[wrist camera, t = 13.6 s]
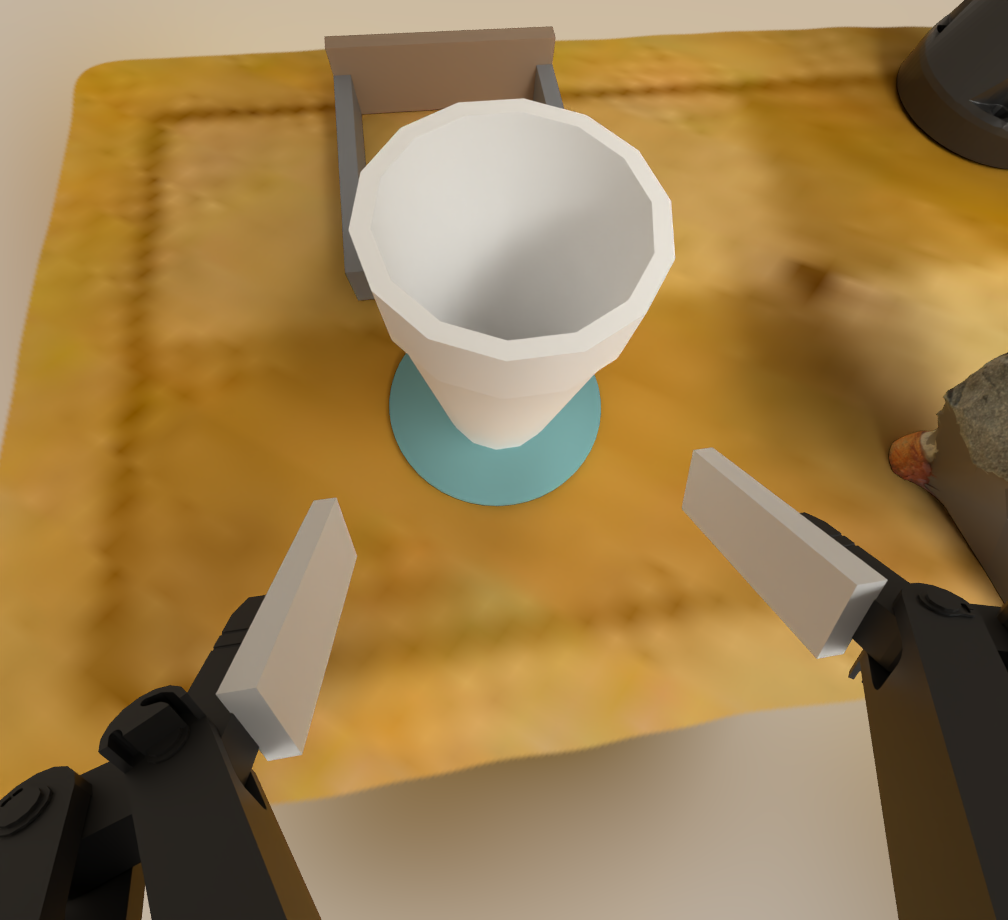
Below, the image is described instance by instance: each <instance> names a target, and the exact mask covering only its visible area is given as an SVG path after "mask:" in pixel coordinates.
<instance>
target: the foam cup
mask: <svg viewBox="0 0 1008 920" xmlns="http://www.w3.org/2000/svg"><path fill="white" fill-rule="evenodd" d="M348 230H349V233H350V236H351V238H352V241H353V244H354V246H355V249H356V252H357V254H358V257H359V259H360V262H361V265H362V267H363V270H364V273H365V275H366V278H367V281H368V283H369V286H370V289H371V291H372V294H373V296H374V299H375V301H376V303H377V306H378V308H379V311H380V313H381V315H382V318H383V320H384V323H385V325H386V328H387V330H388V332H389V335H390V337H391V340H392V341H393V342H394V343H396V344H397V345H398V346H399V347H400V348H401V349H402V350H404V351H405V352H406V353H407V354H408V355H409V356H410V358H411V360H412V361H413V363H414V364H415V366H416V367H417V369H418V370H419V372H420V373H421V375H422V376H423V378H424V380H425V381H426V383H427V384H428V386H429V387H430V389H431V390H432V392H433V393H434V395H435V397H436V398H437V400H438V401H439V403H440V404H441V406H442V407H443V409H444V410H445V412H446V413H447V415H448V417H449V418H450V420H451V421H452V423H453V424H454V425H455V426H456V428H457V429H458V430H459V431H460V432H461V433H463V434H464V435H465V436H466V437H467V438H468V439H469V440H470V441H472V442H473V443H475V444H478V445H482V446H485V447H488V448H492V449H495V450H498V449H505V448H511V447H518V446H521V445H522V444H524V443H525V442H527V441H528V440H530V439H531V438H533V437H534V436H536V435H537V434H538V433H539V432H541V431H542V430H543V429H544V428H545V426H546V425H547V424H548V423H549V422H550V421H551V420H552V419H553V418H554V417H555V416H556V415H557V414H558V413H559V412H560V410H561V409H562V408H563V407H564V406H565V405H566V404H567V403H568V402H569V401H570V400H571V399H572V398H573V397H574V395H575V394H576V393H577V392H578V391H579V390H580V389H581V388H582V387H583V386H584V385H585V384H586V383H587V382H588V380H589V379H590V378H591V377H592V376H593V375H594V374H595V373H596V372H597V371H598V370H600V369H601V368H603V367H605V366H606V365H608V364H609V363H611V362H612V361H614V360H615V359H617V358H618V357H619V355H620V353H621V352H622V350H623V349H624V347H625V346H626V344H627V342H628V341H629V339H630V338H631V336H632V335H633V333H634V332H635V330H636V328H637V327H638V325H639V324H640V322H641V321H642V319H643V317H644V316H645V314H646V313H647V311H648V309H649V307H650V305H651V303H652V301H653V299H654V298H655V296H656V294H657V292H658V290H659V288H660V286H661V284H662V283H663V281H664V279H665V277H666V275H667V273H668V271H669V269H670V267H671V266H672V264H673V262H674V260H675V249H674V235H673V221H672V207H671V200H670V199H669V197H668V195H667V194H666V192H665V191H664V189H663V188H662V186H661V184H660V183H659V181H658V180H657V178H656V177H655V175H654V174H653V172H652V170H651V169H650V167H649V166H648V164H647V163H646V161H645V160H644V158H643V156H642V155H641V153H640V152H639V150H637V149H636V148H634V147H633V146H631V145H630V144H628V143H627V142H625V141H624V140H622V139H621V138H619V137H618V136H617V135H615V134H614V133H612V132H611V131H609V130H608V129H606V128H605V127H603V126H602V125H600V124H599V123H597V122H596V121H595V120H593V119H592V118H590V117H589V116H587V115H584V114H580V113H577V112H573V111H569V110H565V109H562V108H558V107H554V106H550V105H547V104H543V103H539V102H535V101H531V100H528V99H524V98H521V99H506V100H490V101H474V102H458V103H456V104H454V105H451V106H449V107H447V108H444V109H442V110H440V111H438V112H435V113H433V114H431V115H428V116H426V117H424V118H422V119H419V120H417V121H415V122H412V123H410V124H408V125H406V126H403V127H401V128H400V129H399V130H398V131H397V132H396V133H395V134H394V135H393V137H392V138H391V139H390V140H389V141H388V142H387V143H386V144H385V145H384V147H383V148H382V149H381V150H380V151H379V152H378V153H377V154H376V155H375V157H374V158H373V159H372V160H371V161H370V162H369V163H368V164H367V166H366V167H365V168H364V169H363V170H362V171H361V172H360V177H359V182H358V186H357V191H356V196H355V201H354V206H353V210H352V215H351V220H350V225H349V229H348Z"/></svg>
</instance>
